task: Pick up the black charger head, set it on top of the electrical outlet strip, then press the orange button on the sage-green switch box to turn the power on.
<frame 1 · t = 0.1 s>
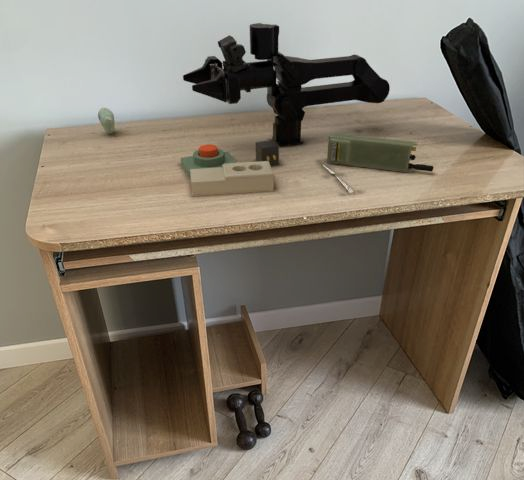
hand: (187, 82, 118), 17 cm above the table, tool horizontal, fingers open, 9 cm apart
switch box: (209, 168, 122), on the table
electrical outlet: (232, 187, 114), on the table
handheld radio: (378, 168, 121), on the table
charger head: (267, 163, 124), on the table
robot head: (109, 134, 141), on the table
switch button: (208, 151, 119), point 4 cm above the table, slide at 0.1 cm
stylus: (334, 177, 118), on the table
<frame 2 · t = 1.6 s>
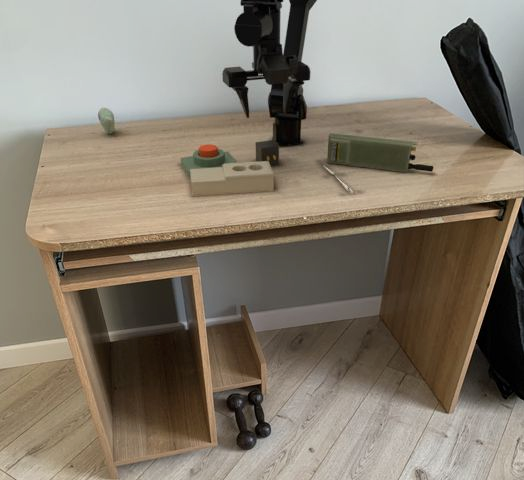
hand: (266, 115, 117), 11 cm above the table, tool pointing down, fingers open, 9 cm apart
nothing on the table moved.
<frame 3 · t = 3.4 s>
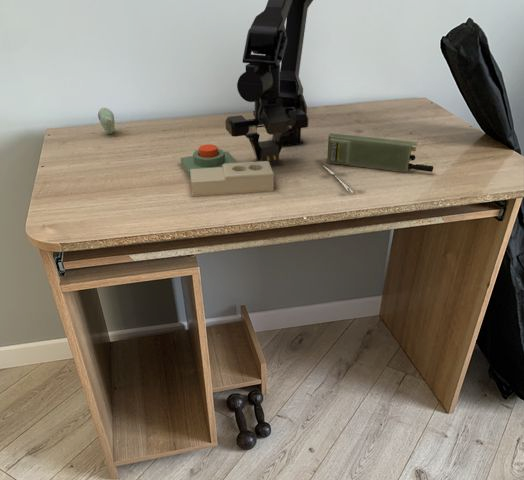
hand: (267, 158, 123), 1 cm above the table, tool pointing down, fingers closed on charger head, 4 cm apart
charger head: (267, 163, 124), on the table, touching gripper
everything else where it was.
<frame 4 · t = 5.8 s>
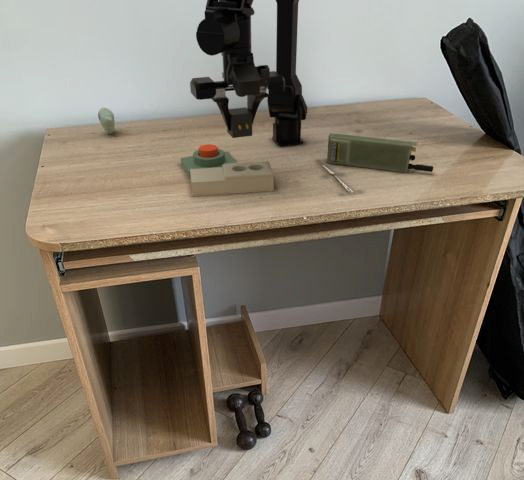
hand: (239, 129, 109), 11 cm above the table, tool pointing down, fingers closed on charger head, 4 cm apart
charger head: (239, 133, 109), point 10 cm above the table, touching gripper
everything else where it was.
when the fingers open (5 cm above the table, at t = 8.3 s): charger head stays where it is, resting on electrical outlet.
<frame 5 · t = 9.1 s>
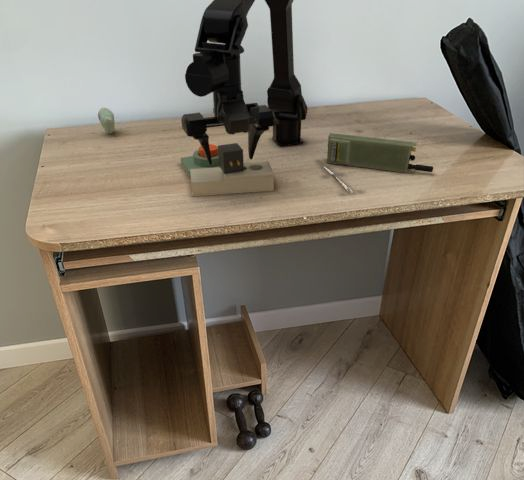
hand: (230, 161, 110), 6 cm above the table, tool pointing down, fingers open, 9 cm apart
electrical outlet: (232, 187, 114), on the table, touching charger head
charger head: (231, 168, 111), point 4 cm above the table, touching electrical outlet
everything else where it was.
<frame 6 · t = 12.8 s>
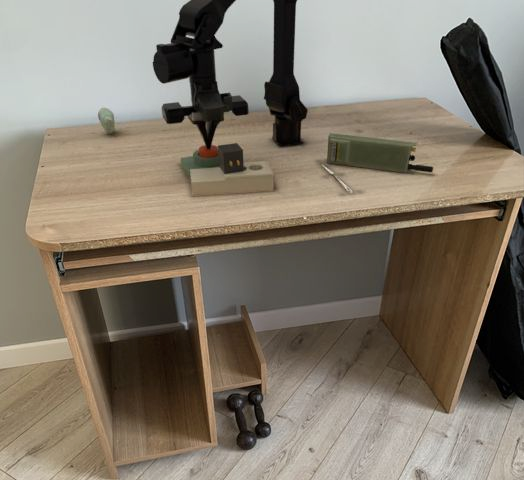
hand: (208, 148, 119), 5 cm above the table, tool pointing down, fingers closed, pressing on switch button
switch button: (208, 151, 119), point 4 cm above the table, slide at 0.0 cm, touching gripper
everything else where it was.
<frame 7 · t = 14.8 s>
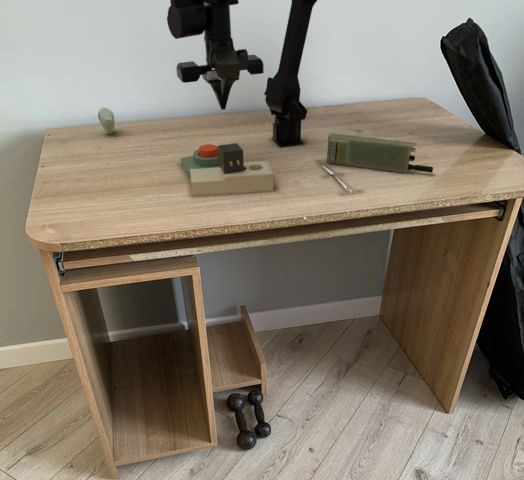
hand: (223, 109, 118), 12 cm above the table, tool pointing down, fingers closed
switch button: (208, 151, 119), point 4 cm above the table, slide at 0.1 cm
everything else where it was.
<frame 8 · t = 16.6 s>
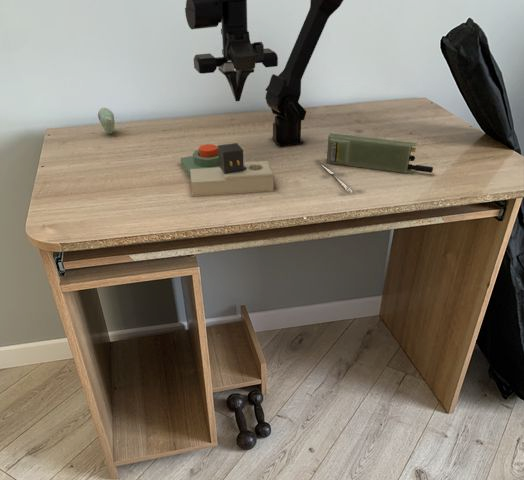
hand: (237, 100, 122), 12 cm above the table, tool pointing down, fingers closed
nothing on the table moved.
at the end: charger head inside the target area on the electrical outlet (0.0 cm from its centre), point 4.3 cm above the electrical outlet's base; switch button pushed in 1.1 cm at the most during the clip, back to where it started at the end; switch button slide at 0.1 cm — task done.
